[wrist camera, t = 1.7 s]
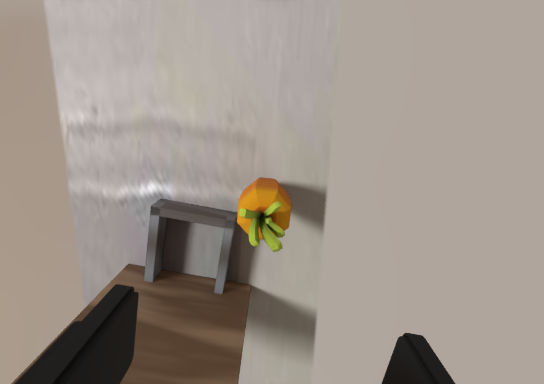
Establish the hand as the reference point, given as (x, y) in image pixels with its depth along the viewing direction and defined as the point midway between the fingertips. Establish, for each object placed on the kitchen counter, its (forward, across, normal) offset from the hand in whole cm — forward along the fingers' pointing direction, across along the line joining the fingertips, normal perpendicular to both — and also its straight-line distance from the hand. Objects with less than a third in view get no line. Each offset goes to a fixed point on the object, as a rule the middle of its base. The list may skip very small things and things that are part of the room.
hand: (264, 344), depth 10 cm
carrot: (+26, 0, +1) cm, 26 cm away
